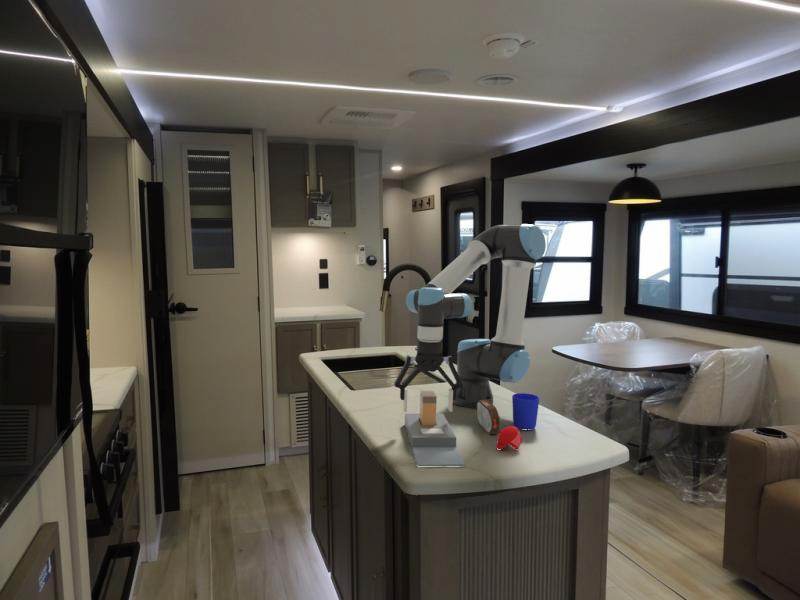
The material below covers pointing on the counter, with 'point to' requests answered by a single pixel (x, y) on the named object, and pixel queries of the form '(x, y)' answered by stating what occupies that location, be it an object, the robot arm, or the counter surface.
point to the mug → (525, 410)
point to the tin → (488, 417)
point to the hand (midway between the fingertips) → (427, 410)
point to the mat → (437, 456)
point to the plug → (427, 408)
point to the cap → (509, 437)
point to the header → (429, 432)
